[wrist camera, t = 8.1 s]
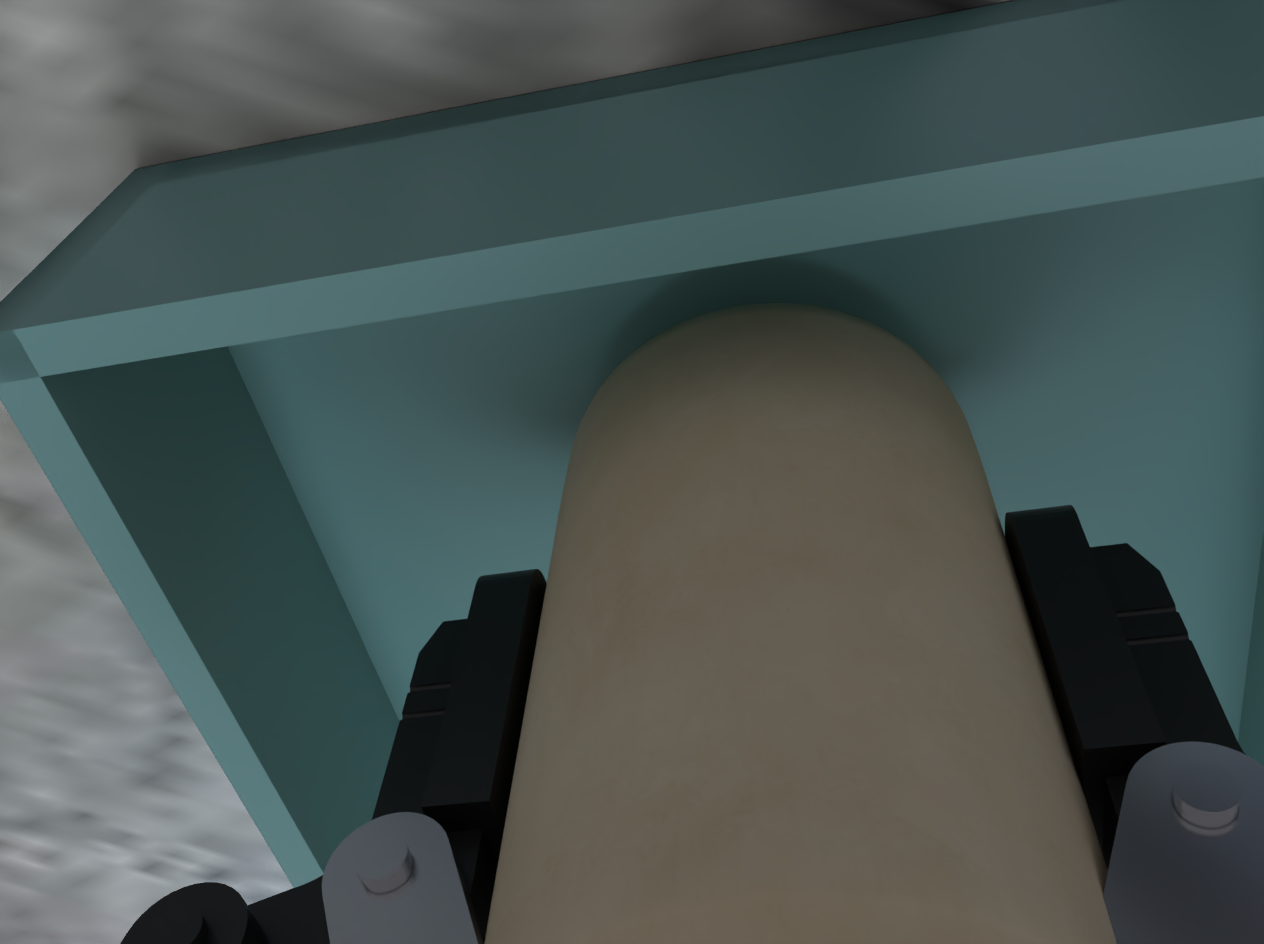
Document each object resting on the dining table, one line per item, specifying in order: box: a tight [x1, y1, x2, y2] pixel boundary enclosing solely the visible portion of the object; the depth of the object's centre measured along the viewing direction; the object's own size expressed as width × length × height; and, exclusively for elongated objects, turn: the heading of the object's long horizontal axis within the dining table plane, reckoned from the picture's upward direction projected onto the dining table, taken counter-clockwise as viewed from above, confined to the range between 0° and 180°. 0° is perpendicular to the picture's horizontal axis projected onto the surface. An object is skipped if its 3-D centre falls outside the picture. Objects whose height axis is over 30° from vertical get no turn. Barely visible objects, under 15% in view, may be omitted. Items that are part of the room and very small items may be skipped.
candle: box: [484, 303, 1117, 944], centre depth 13 cm, size 6×6×10 cm
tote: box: [0, 0, 1264, 888], centre depth 19 cm, size 16×19×5 cm
